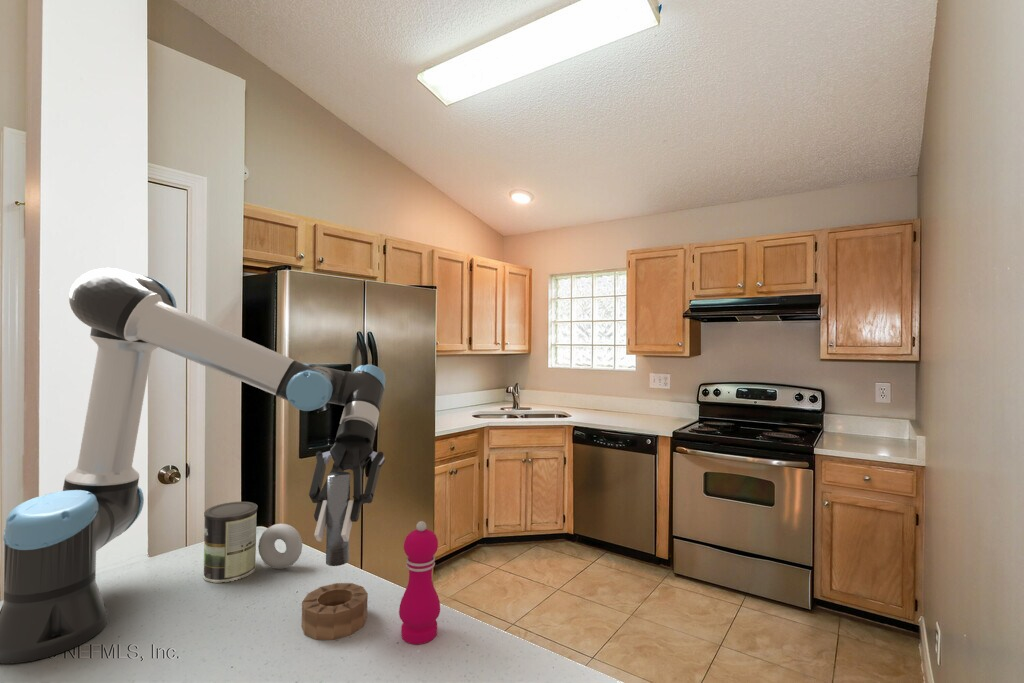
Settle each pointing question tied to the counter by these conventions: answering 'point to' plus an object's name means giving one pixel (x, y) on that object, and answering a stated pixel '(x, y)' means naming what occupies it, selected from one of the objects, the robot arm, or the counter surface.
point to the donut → (269, 550)
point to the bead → (334, 611)
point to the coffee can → (230, 541)
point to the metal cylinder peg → (337, 518)
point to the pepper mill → (420, 588)
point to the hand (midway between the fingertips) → (331, 537)
